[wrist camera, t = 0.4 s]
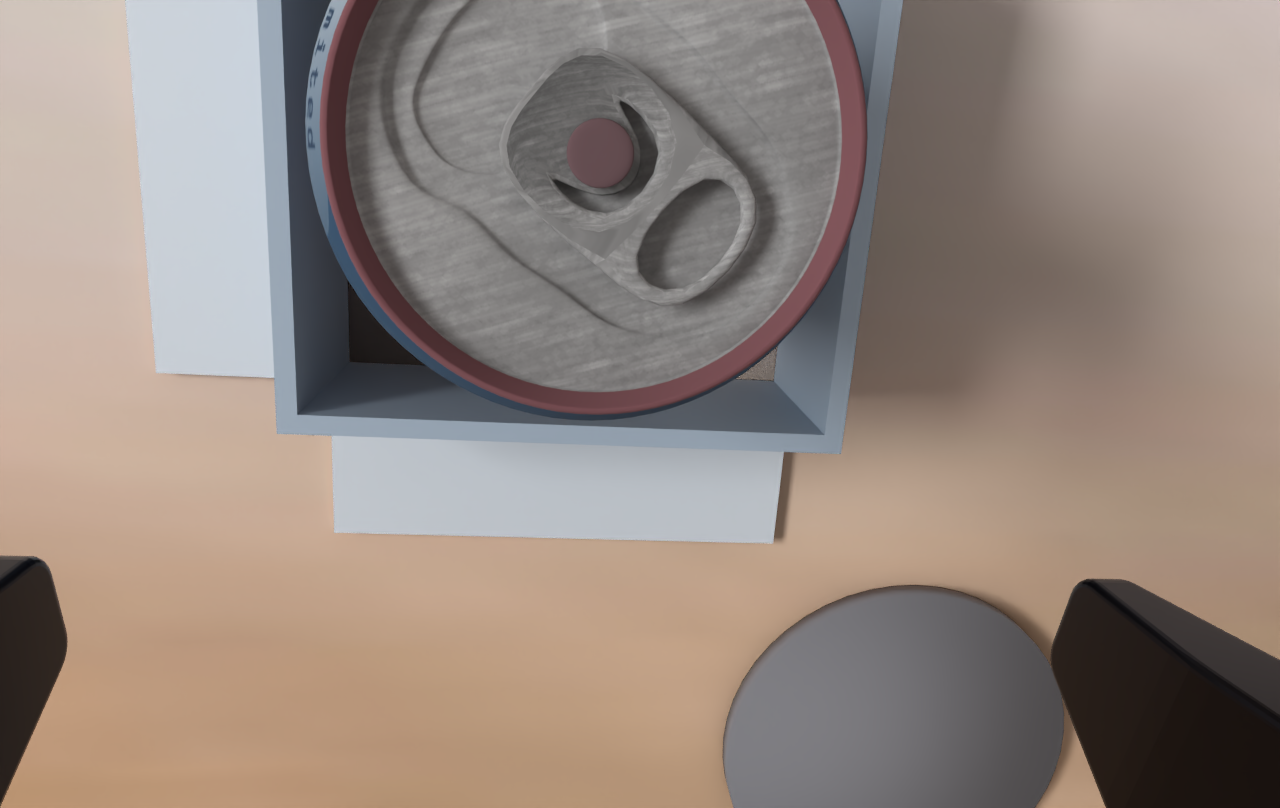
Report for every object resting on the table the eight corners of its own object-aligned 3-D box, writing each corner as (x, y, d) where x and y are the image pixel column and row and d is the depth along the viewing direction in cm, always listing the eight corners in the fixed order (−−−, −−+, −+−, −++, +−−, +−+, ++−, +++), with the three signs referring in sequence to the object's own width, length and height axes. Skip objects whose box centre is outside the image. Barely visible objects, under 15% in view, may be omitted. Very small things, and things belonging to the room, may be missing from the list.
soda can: (364, 164, 20) (111, 181, 9) (560, -81, 19) (563, -425, 8) (591, 355, 22) (628, 579, 10) (782, 140, 21) (1054, 127, 9)
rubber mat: (1019, 874, 28) (1029, 889, 27) (707, 878, 27) (711, 894, 26) (1083, 588, 25) (1095, 598, 25) (740, 581, 24) (745, 592, 24)
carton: (770, 538, 24) (817, 623, 19) (174, 523, 22) (81, 613, 18) (844, -95, 20) (925, -164, 15) (117, -170, 18) (-21, -270, 14)
